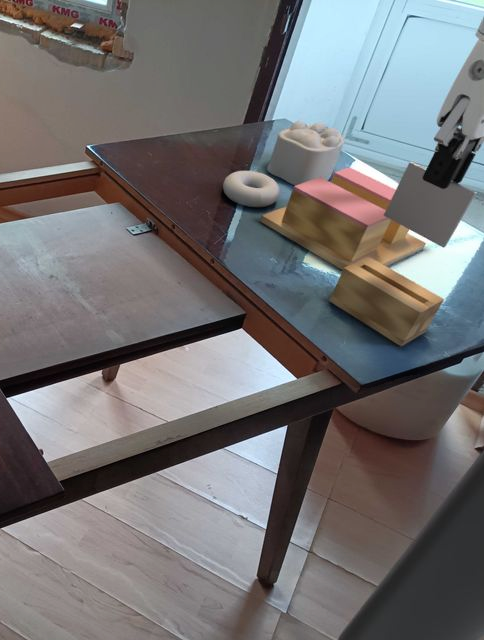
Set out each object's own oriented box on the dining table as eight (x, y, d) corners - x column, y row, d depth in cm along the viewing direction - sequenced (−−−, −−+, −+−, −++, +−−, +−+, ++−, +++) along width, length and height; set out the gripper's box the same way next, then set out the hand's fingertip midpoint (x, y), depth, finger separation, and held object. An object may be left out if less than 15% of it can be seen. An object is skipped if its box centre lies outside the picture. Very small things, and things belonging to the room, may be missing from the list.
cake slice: (405, 237, 115) (423, 202, 111) (391, 244, 113) (408, 208, 109) (335, 200, 123) (349, 167, 119) (320, 206, 122) (334, 172, 117)
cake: (423, 249, 115) (444, 208, 110) (359, 280, 107) (379, 237, 102) (324, 197, 127) (339, 157, 122) (259, 221, 119) (273, 180, 114)
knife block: (424, 332, 98) (444, 299, 94) (400, 346, 95) (420, 312, 91) (353, 289, 105) (368, 256, 101) (328, 301, 102) (343, 267, 98)
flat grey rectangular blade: (449, 245, 90) (502, 152, 81) (439, 249, 89) (493, 156, 80) (388, 213, 95) (433, 123, 86) (379, 217, 94) (423, 126, 85)
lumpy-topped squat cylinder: (260, 168, 134) (273, 125, 129) (300, 153, 141) (314, 112, 135) (304, 190, 128) (320, 146, 123) (344, 174, 135) (361, 131, 129)
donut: (253, 181, 130) (210, 187, 127) (259, 164, 128) (215, 170, 125) (287, 207, 123) (242, 214, 120) (293, 189, 121) (247, 196, 118)
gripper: (517, 48, 69) (433, 209, 81) (588, 28, 76) (501, 180, 88) (447, 26, 73) (377, 182, 85) (521, 10, 81) (447, 156, 93)
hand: (441, 180), depth 87 cm, fingers closed on flat grey rectangular blade, 2 cm apart
